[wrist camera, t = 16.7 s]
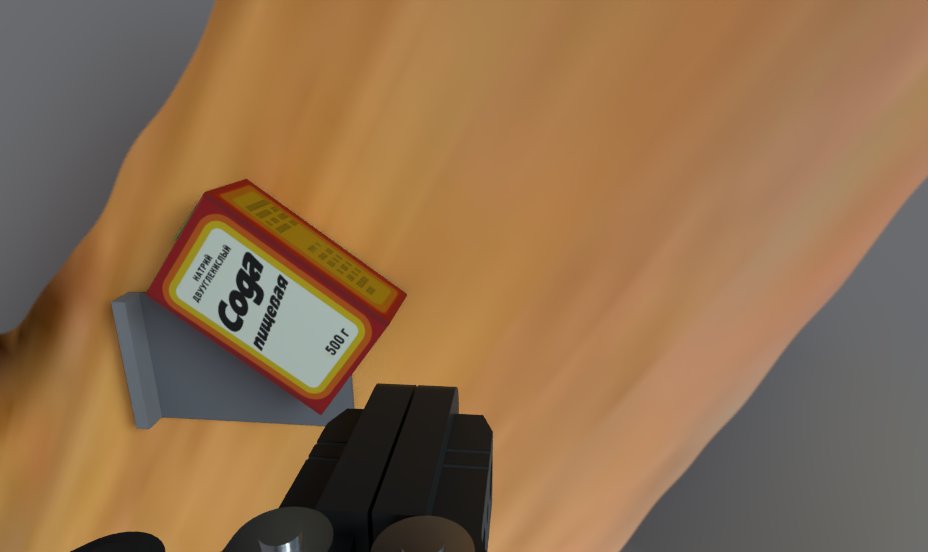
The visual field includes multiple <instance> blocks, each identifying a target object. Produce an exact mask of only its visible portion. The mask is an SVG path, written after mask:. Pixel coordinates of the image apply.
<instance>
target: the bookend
mask: <svg viewBox="0 0 928 552" xmlns="http://www.w3.org/2000/svg"><path fill="white" fill-rule="evenodd" d="M111 305H112V310H113V315H114V320H115V324H116V329H117V334H118V339H119V344H120V349H121V354H122V359H123V364H124V369H125V374H126V379H127V384H128V389H129V394H130V399H131V403H132V408H133V413H134V418H135V423H136V428H138V429H150V428H151V427H152V426H153V425H154V424H155V423H156V422H157V421H158V420H159V419H160V418H162V417H171V418H189V419H207V420H225V421H244V422H262V423H280V424H298V425H317V426H326V425H327V423H328V422H330V421H331V420H332V419H334V418H335V417H336V416H338V415H339V414H340V413H342V412H343V411H344V410H346V409H347V408H350V409H354V398H353V384H352V375H351V376H350V377H349V379H348V380H347V381H346V383H345V384H344V385H343V387H342V388H341V389H340V391H339V392H338V394H337V395H336V396H335V398H334V399H333V400H332V402H331V403H330V404H329V406H328V407H327V408H326V410H325V411H324V412H323V414H322V415H319V414H318V413H317V412H315V411H314V410H312V409H311V408H309V407H308V406H306V405H305V404H303V403H302V402H301V401H299V400H298V399H296V398H295V397H293V396H292V395H290V394H289V393H287V392H286V391H285V390H283V389H282V388H280V387H279V386H277V385H276V384H274V383H273V382H271V381H270V380H269V379H267V378H266V377H264V376H263V375H261V374H260V373H258V372H257V371H255V370H254V369H253V368H251V367H250V366H248V365H247V364H245V363H244V362H242V361H241V360H239V359H238V358H237V357H235V356H234V355H232V354H231V353H229V352H228V351H226V350H225V349H223V348H222V347H221V346H219V345H218V344H216V343H215V342H213V341H212V340H210V339H209V338H207V337H206V336H204V335H203V334H202V333H200V332H199V331H197V330H196V329H194V328H193V327H191V326H190V325H188V324H187V323H186V322H184V321H183V320H181V319H180V318H178V317H177V316H175V315H174V314H172V313H171V312H170V311H168V310H167V309H165V308H164V307H162V306H161V305H159V304H158V303H156V302H155V301H154V300H152V299H151V298H149V297H148V296H146V293H144V292H128V293H126V294H124V295H123V296H121V297H119V298H117V299H116V300H114V301H112V302H111Z"/></svg>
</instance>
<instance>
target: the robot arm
mask: <svg viewBox="0 0 928 552" xmlns="http://www.w3.org/2000/svg"><path fill="white" fill-rule="evenodd" d="M492 460H493V431H492V430H491V428H490V426H489V425H488V423H487V421H486V419H485V418H484V416H483V415H469V414H459V399H458V388H457V387H445V386H424V385H418V387H417V386H416V385H400V384H379V383H378V384H377V385H376V386H375V388H374V390H373V392H372V394H371V396H370V398H369V400H368V402H367V404H366V406H365V408H364V409H350V408H347V409H346V410H344V411H343V412H342V413H340V414H339V415H338V416H336V417H335V418H334V419H332V420H331V421H330V422H328V423H327V425H326V427H325V428H324V430H323V432H322V433H321V435H320V437H319V439H318V440H317V444H315V446H314V447H313V449H312V451H311V453H310V454H309V459H308V460H306V461H305V463H304V465H303V467H302V468H301V470H300V472H299V474H298V475H297V477H296V479H295V481H294V482H293V484H292V486H291V487H290V489H289V491H288V493H287V494H286V496H285V498H284V500H283V501H282V503H281V505H280V507H279V508H278V509H274V510H271V511H268V512H265V513H263V514H260V515H258V516H256V517H254V518H253V519H251V520H250V521H248V522H247V523H245V524H244V525H243V526H242V527H241V528H240V529H239V530H238V531H237V532H236V533H235V534H234V536H233V537H232V538H231V540H230V541H229V543H228V544H227V545H226V547H225V548H224V549H223V551H221V552H487V549H488V539H489V528H490V518H491V508H492ZM71 552H165V547H164V545H163V543H162V541H160V540H159V539H158V538H157V537H155V536H153V535H151V534H148V533H144V532H123V533H117V534H112V535H108V536H105V537H102V538H99V539H97V540H94V541H92V542H90V543H87V544H85V545H83V546H81V547H79V548H77V549H75V550H73V551H71Z"/></svg>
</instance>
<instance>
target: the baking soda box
mask: <svg viewBox="0 0 928 552" xmlns="http://www.w3.org/2000/svg"><path fill="white" fill-rule="evenodd" d="M176 239H178V240H177V241H176V243H175V244H174V246H173V248H172V249H171V251H170V253H169V255H168V256H167V258H166V260H165V262H164V263H163V265H162V267H161V269H160V270H159V272H158V274H157V276H156V277H155V279H154V281H153V283H152V284H151V286H150V288H149V290H148V291H147V293H146V296H148V297H149V298H151V299H152V300H154V301H155V302H156V303H158V304H159V305H161V306H162V307H164V308H165V309H167V310H168V311H170V312H171V313H172V314H174V315H175V316H177V317H178V318H180V319H181V320H183V321H184V322H186V323H187V324H188V325H190V326H191V327H193V328H194V329H196V330H197V331H199V332H200V333H202V334H203V335H204V336H206V337H207V338H209V339H210V340H212V341H213V342H215V343H216V344H218V345H219V346H221V347H222V348H223V349H225V350H226V351H228V352H229V353H231V354H232V355H234V356H235V357H237V358H238V359H239V360H241V361H242V362H244V363H245V364H247V365H248V366H250V367H251V368H253V369H254V370H255V371H257V372H258V373H260V374H261V375H263V376H264V377H266V378H267V379H269V380H270V381H271V382H273V383H274V384H276V385H277V386H279V387H280V388H282V389H283V390H285V391H286V392H287V393H289V394H290V395H292V396H293V397H295V398H296V399H298V400H299V401H301V402H302V403H303V404H305V405H306V406H308V407H309V408H311V409H312V410H314V411H315V412H317V413H318V414H319V415H322V414H323V412H324V411H325V410H326V408H327V407H328V406H329V404H330V403H331V402H332V400H333V399H334V398H335V396H336V395H337V394H338V392H339V391H340V389H341V388H342V387H343V385H344V384H345V383H346V381H347V380H348V379H349V377H350V376H351V375H352V373H353V372H354V371H355V369H356V368H357V367H358V365H359V364H360V363H361V361H362V360H363V359H364V357H365V356H366V355H367V353H368V352H369V351H370V349H371V348H372V346H373V345H374V344H375V342H376V341H377V340H378V338H379V337H380V336H381V334H382V333H383V332H384V330H385V329H386V328H387V326H388V325H389V324H390V322H391V320H392V319H393V317H394V316H395V314H396V312H397V311H398V309H399V307H400V306H401V304H402V303H403V301H404V299H405V298H406V296H407V294H406V293H405V292H403V291H402V290H400V289H399V288H398V287H396V286H395V285H394V284H392V283H391V282H389V281H388V280H387V279H385V278H384V277H382V276H381V275H380V274H378V273H377V272H375V271H374V270H373V269H371V268H370V267H368V266H367V265H366V264H364V263H363V262H361V261H360V260H359V259H357V258H356V257H355V256H353V255H352V254H350V253H349V252H348V251H346V250H345V249H343V248H342V247H341V246H339V245H338V244H336V243H335V242H334V241H332V240H331V239H329V238H328V237H327V236H325V235H324V234H322V233H321V232H320V231H318V230H317V229H315V228H314V227H313V226H311V225H310V224H309V223H307V222H306V221H304V220H303V219H302V218H300V217H299V216H297V215H296V214H295V213H293V212H292V211H290V210H289V209H288V208H286V207H285V206H283V205H282V204H281V203H279V202H278V201H276V200H275V199H274V198H272V197H271V196H270V195H268V194H267V193H265V192H264V191H263V190H261V189H260V188H258V187H257V186H256V185H254V184H253V183H251V182H250V181H249V180H247V179H245V180H242V181H238V182H235V183H232V184H229V185H226V186H222V187H219V188H216V189H213V190H210V191H207V192H205V193H204V194H203V196H202V197H201V199H200V200H199V202H198V203H197V205H196V206H195V208H194V209H193V211H192V212H191V214H190V215H189V217H188V218H187V220H186V221H185V223H184V224H183V226H182V227H181V229H180V230H179V232H178V233H177V235H176V236H175V238H174V239H173V240H176Z"/></svg>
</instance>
